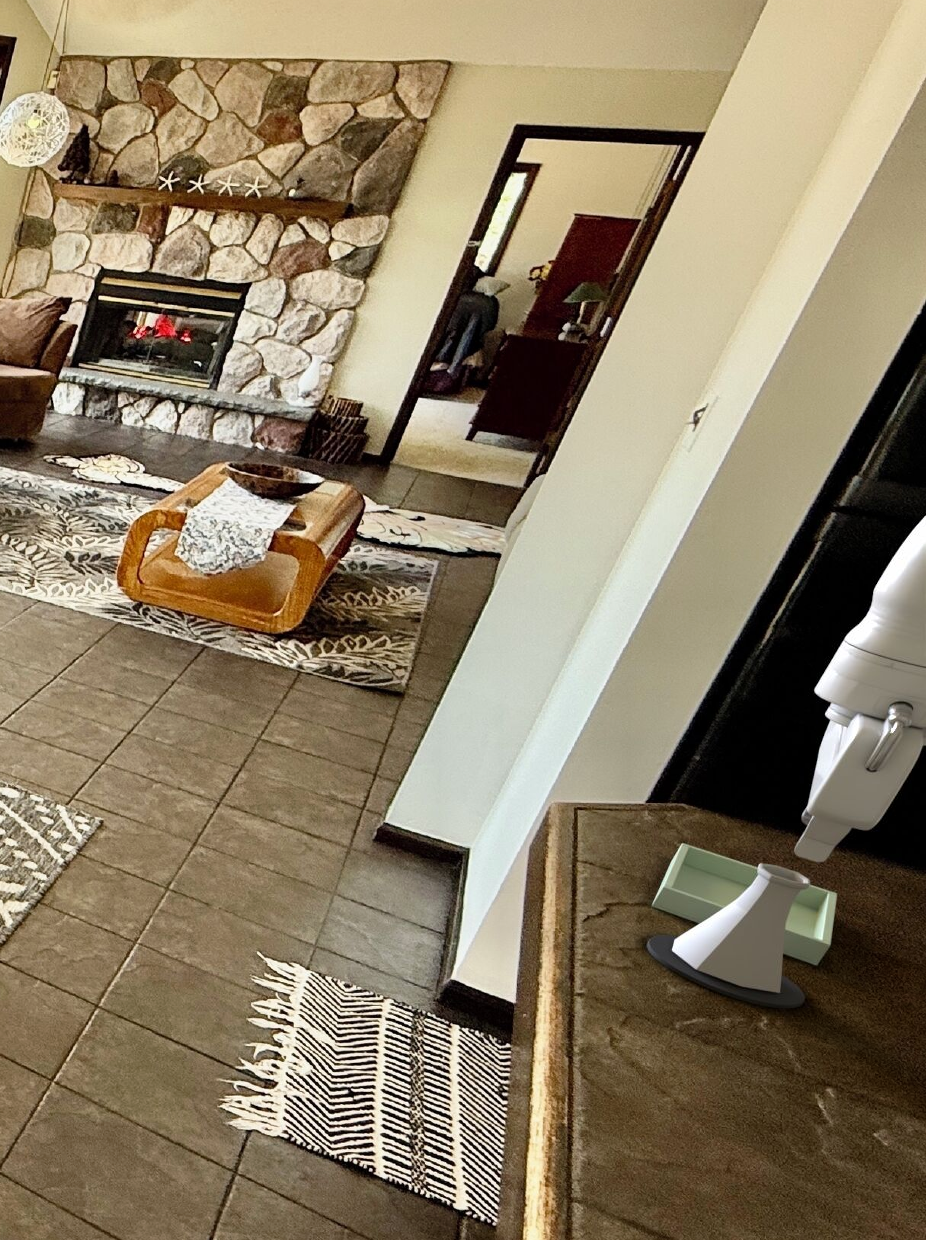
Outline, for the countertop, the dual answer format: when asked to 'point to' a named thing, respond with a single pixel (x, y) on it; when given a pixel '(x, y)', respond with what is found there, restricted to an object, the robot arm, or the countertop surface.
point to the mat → (785, 999)
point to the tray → (717, 881)
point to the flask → (746, 932)
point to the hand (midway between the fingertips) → (811, 840)
